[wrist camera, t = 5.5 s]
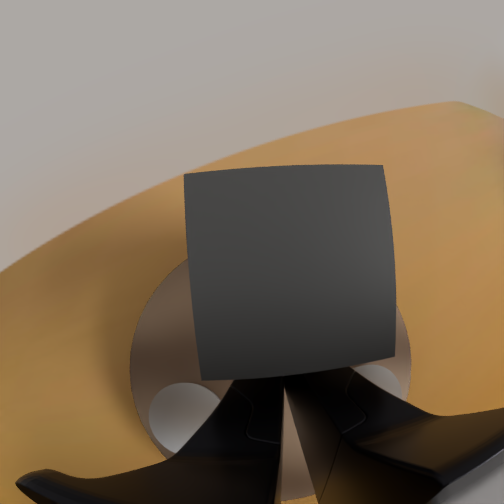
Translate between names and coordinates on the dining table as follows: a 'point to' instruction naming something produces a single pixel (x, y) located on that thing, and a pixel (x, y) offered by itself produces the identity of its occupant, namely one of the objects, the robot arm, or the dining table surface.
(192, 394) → the stool seat
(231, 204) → the folding leg
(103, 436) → the dining table surface
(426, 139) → the dining table surface
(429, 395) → the dining table surface
